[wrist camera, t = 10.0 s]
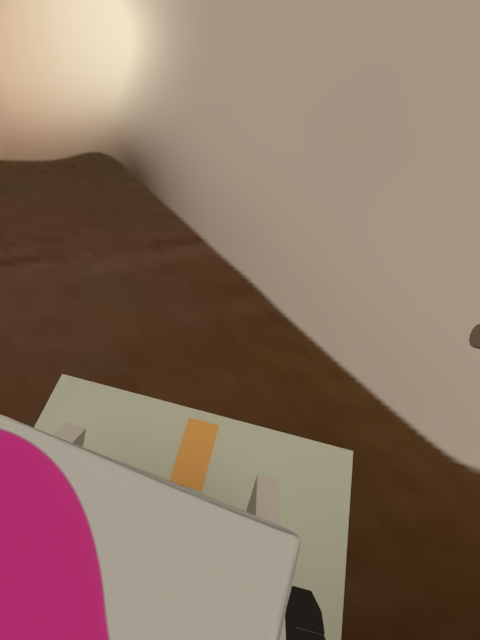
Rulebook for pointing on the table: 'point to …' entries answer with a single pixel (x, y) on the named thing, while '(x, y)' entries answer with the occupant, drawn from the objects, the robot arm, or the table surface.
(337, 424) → the table surface
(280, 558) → the supplement box
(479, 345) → the pipe connector
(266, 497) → the robot arm
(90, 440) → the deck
